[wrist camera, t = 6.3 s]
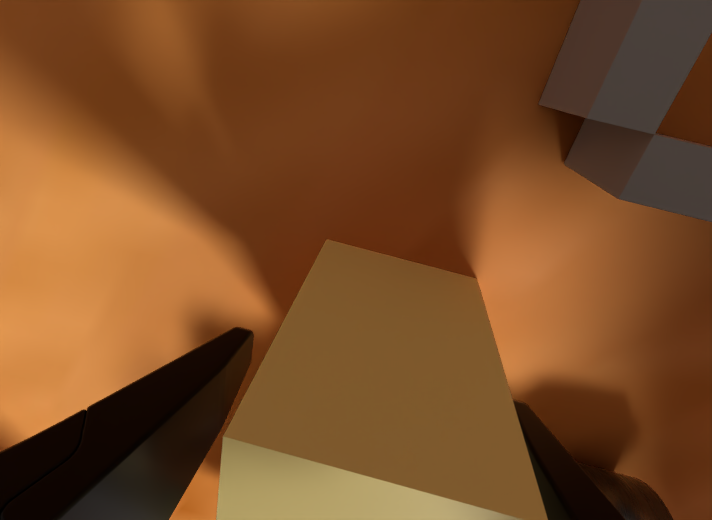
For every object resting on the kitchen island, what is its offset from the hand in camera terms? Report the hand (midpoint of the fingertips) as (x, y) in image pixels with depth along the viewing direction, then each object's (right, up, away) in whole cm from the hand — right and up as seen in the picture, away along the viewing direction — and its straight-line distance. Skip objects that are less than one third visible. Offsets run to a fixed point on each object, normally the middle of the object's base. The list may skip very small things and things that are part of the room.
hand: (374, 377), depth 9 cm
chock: (0, +1, +2) cm, 2 cm away
